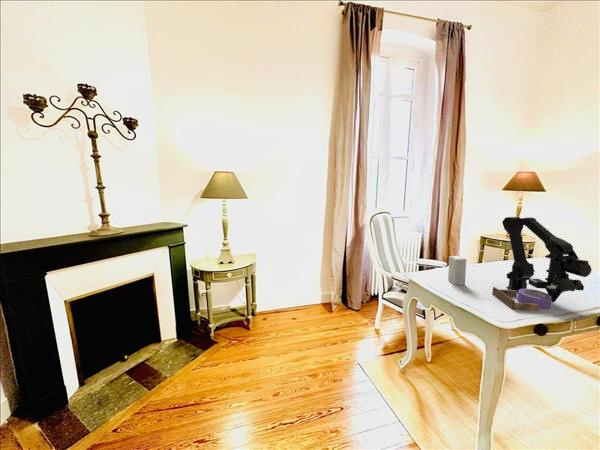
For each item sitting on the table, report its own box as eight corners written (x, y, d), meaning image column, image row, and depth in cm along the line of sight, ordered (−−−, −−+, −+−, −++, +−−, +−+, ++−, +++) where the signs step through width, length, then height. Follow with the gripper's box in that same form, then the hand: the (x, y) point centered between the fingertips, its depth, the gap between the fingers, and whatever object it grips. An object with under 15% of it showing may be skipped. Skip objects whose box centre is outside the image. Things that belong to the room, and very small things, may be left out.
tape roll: (538, 310, 116) (539, 300, 115) (510, 299, 127) (512, 290, 126) (556, 307, 119) (558, 297, 118) (528, 296, 130) (529, 287, 129)
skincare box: (465, 285, 145) (467, 259, 143) (453, 285, 146) (456, 259, 144) (457, 279, 154) (459, 255, 151) (446, 279, 154) (449, 255, 152)
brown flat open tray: (511, 309, 118) (512, 300, 117) (492, 294, 133) (493, 287, 132) (538, 311, 116) (539, 302, 115) (515, 296, 131) (516, 288, 131)
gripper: (547, 274, 113) (543, 308, 115) (598, 276, 110) (592, 311, 112) (529, 266, 123) (525, 297, 126) (575, 268, 120) (570, 300, 123)
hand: (552, 301), depth 121 cm, fingers closed
